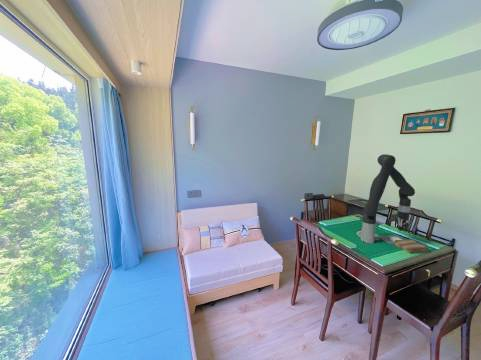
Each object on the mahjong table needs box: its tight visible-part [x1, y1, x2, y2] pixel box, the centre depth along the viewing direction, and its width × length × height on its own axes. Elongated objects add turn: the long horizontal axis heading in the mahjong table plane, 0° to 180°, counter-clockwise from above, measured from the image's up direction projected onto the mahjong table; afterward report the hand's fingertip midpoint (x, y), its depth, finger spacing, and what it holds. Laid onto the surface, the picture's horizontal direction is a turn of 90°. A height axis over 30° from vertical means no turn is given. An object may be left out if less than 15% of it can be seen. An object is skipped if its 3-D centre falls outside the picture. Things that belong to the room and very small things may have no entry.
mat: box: [376, 234, 406, 245], centre depth 167 cm, size 14×20×1 cm
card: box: [390, 237, 402, 242], centre depth 163 cm, size 9×6×2 cm, turn 4°
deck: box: [394, 238, 429, 254], centre depth 151 cm, size 14×14×4 cm
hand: (400, 230), depth 159 cm, fingers closed
